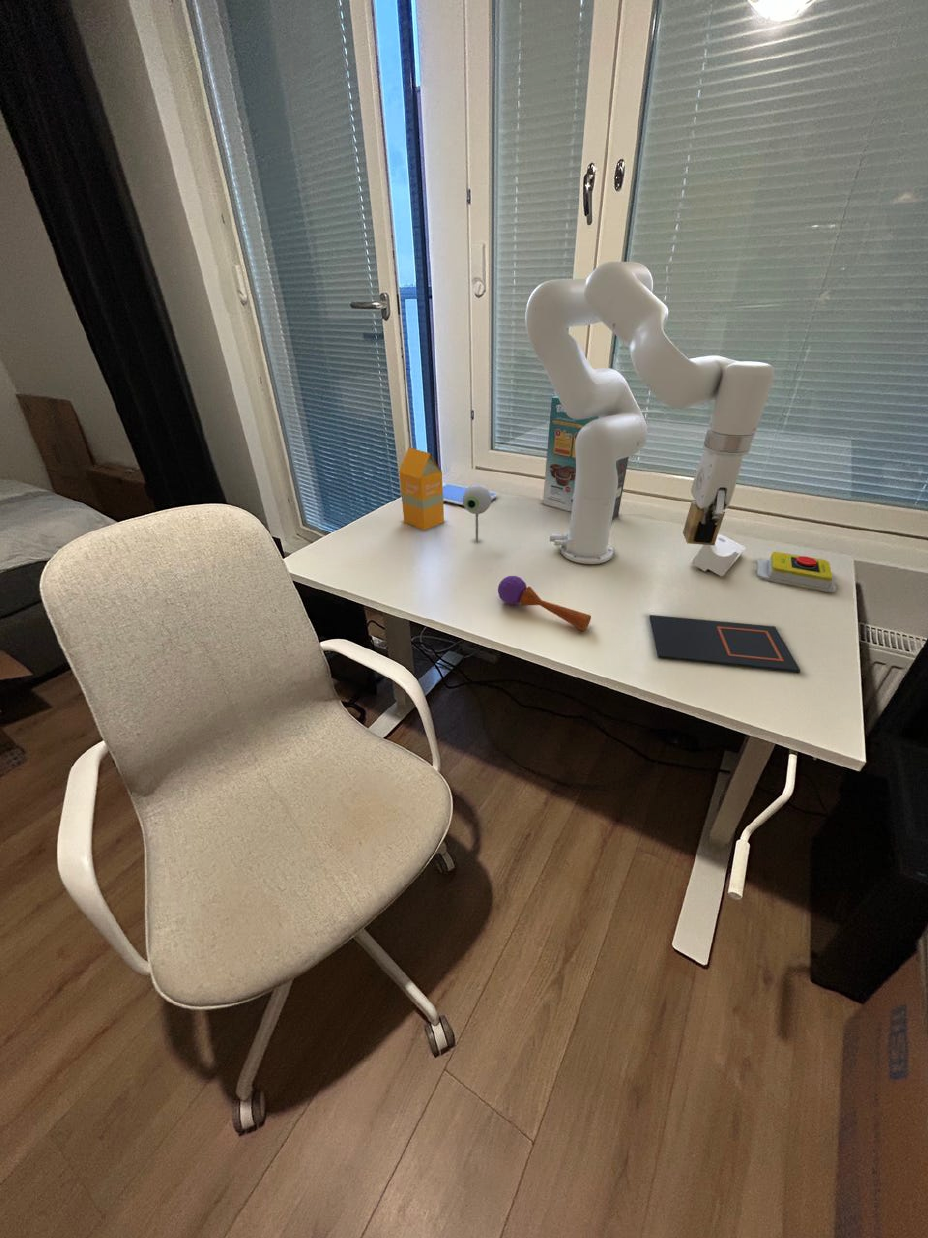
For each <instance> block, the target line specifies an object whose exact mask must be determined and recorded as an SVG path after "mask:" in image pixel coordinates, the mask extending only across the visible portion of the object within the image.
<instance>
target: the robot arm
mask: <svg viewBox="0 0 928 1238" xmlns="http://www.w3.org/2000/svg"><path fill="white" fill-rule="evenodd" d="M653 280H654V279H653V276H652V273H651V271H650V269H648V268H647V266H645V265H644V264H642V263H640V262H633V261H608V262H604V263H602V264H599V265H598V266H597V267H595V268H594V269H593V270H592V271H591V273H589V275H588V277H587V278H555V279H550V280H547V281H544V282H542V283H540V284H539V285H537V286H536V288H535V289H534V290H533V291H532V292H531V294H530V296H529V297H528V301H527V304H526V308H525V316H524V317H525V319H524V321H525V322H524V325H525V331H526V336H527V339H528V341H529V345H530V346H531V348H532V350H533V352H534V354H535V355H536V357H537V359H538V361H539V363H540V364H541V366H542V367H543V369H544V371H545V373H546V375H547V377H548V380H549V382H550V384H551V386H552V388H553V389H554V392H555V395H556V396H558V398H559V400H560V403H561V405H562V407H563V409H564V410H565V412H566V414H567V415H568V416H569V417H570V418H572V419H575V420H581V419H587V418H591V417H595V416H598V417H599V419H596V420H593V421H591V422H589V423H587V424H586V425H585V426H584V427H583V428H582V429H581V430H580V431H579V433H578V435H577V438H576V442H575V454H576V478H575V488H574V497H573V505H572V512H570V514H571V515H570V523H569V529H567V533H564V532H563V533H562V534H558V533H550V534H549V542H553V545H554V546H560V553H561V555H562V556H563V557H564V558H566V559H567V560H569V561H572V562H575V563H578V564H583V565H599V564H603V563H606V562H608V561H609V560H611V559H612V557H613V554H614V549H613V547H612V546H611V545H610V544H609V540H610V535H611V534H610V533H611V528H612V522H613V519H612V517H613V511H614V505H615V499H616V493H617V487H618V474H617V469H616V461H617V460H620V459H622V458H625V457H628V456H629V457H630V456H631V457H632V456H634V455H635V454H637V453H639V452H640V451H641V450H642V449H643V447H644V446H645V445H646V442H647V438H648V425H647V422H646V419H645V417H644V414H643V413H642V410H641V408H640V405H639V403H638V402H637V400H636V398H635V396H634V394H633V392H632V389H631V388H630V385H629V383H628V382H627V380H626V379H625V378H624V377H625V376H623V375H622V374H621V373H620V372H619V371H618V370H615V369H614V368H610V367H601V368H596V369H595V368H593V367H592V365H591V364H590V362H589V360H588V358H587V357H586V355H585V352H584V349H583V348H582V347H581V345H580V343H578V340H576V339H575V338H574V336H572V335H571V334H570V333H569V332H568V330H567V329H566V328H572V327H573V328H574V327H584V326H585V327H586V326H590V325H594V324H595V325H596V324H599V323H603V324H604V325H605V326H606V327H607V328H608V329H609V331H611V332H612V333H613V334H614V335H615V336H616V337H617V338H618V340H619V341H621V342H622V343H623V344H624V345H625V346H626V347H627V349H628V350H629V354H630V359H631V362H632V365H633V369H634V370H635V373H636V375H637V376H638V378H639V380H640V382H641V383H643V384H644V385H645V386H646V388H648V389H649V391H650V392H651V393H653V395H655V397H656V398H657V399H658V400H660V401H661V402H662V403H664V404H665V405H667V406H668V407H671V408H673V409H687V408H691V407H694V406H697V405H702V404H703V405H704V404H707V403H714V405H713V409H712V412H711V416H710V420H709V423H708V427H707V430H706V434H705V438H704V441H703V444H702V449H703V452H702V455H701V457H700V460H699V462H698V466H697V468H696V472H695V475H694V478H693V481H692V484H691V487H690V493H691V496H692V498H693V500H695V502H696V503H697V505H698V506H699V507H700V508H702V509H703V508H704V510H703V515H702V520H701V522H699V523H698V527H697V530H696V533H695V537H694V541H695V542H702V543H711V542H712V539H713V536H714V533H715V530H716V527H717V525H718V522H719V519H720V518H721V517H722V516H723V510H725V511H726V509H728V507H729V506H730V504H731V500H732V498H733V495H734V493H735V488H736V485H737V482H738V479H739V475H740V471H741V467H742V463H743V458H744V456H745V455H748V454H749V453H750V450H751V446H752V444H753V441H754V438H755V435H756V432H757V428H758V426H759V423H760V420H761V417H762V414H763V411H764V408H765V405H766V401H767V399H768V396H769V394H770V389H771V387H772V384H773V382H774V378H775V374H776V373H775V367H774V366H773V365H772V364H769V363H767V362H762V361H761V362H760V361H747V360H745V361H744V360H742V361H739V360H735V359H731V358H728V357H726V356H721V355H714V354H713V355H712V354H711V355H705V356H697V357H693V358H692V357H691V358H689V357H687V356H686V355H685V354H684V353H683V352H682V351H680V349H679V348H677V346H676V345H675V344H673V343H672V341H671V340H670V339H669V338H668V336H667V334H666V333H665V330H664V329H665V326H666V325H667V322H668V319H669V309H668V306H667V305H666V304H665V303H664V302H663V301H661V300H660V298H658V297H657V296H656V295H655V294H654V293H653V290H654V281H653ZM637 403H638V404H637ZM710 504H715V505H714V507H709V505H710ZM708 510H711V511H713V512H712V513H710V514H709V515H708V516H707V514H708Z"/></svg>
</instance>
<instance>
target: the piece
mask: <svg viewBox="0 0 928 1238" xmlns="http://www.w3.org/2000/svg"><path fill="white" fill-rule="evenodd" d="M714 505H715V504H710V505H709V507H714ZM703 510H704V508H703V509H702V508H700V507H699V506H698V505H697V503H696V502H695V500H694V499H691V502H690V505H689V509H688V512H687V516H686V520H685V524H684V528H683V530H682V534H683V536H684V539H685V541H686V544H690V545H702V546H703V545H715V542H716V539H717V536H718V533H719V534H720V529H721V527H722V523H723V521H724V517H725V514H726V509H725V510H723V516H722V517H721V518H720V519H719V522H718V525H717V527H716V530H715V533H714V536H713V539H712V542H711V543H702V542H695V541H694V537H695V533H696V530H697V527H698V523H699V522H701V520H702V515H703ZM712 512H713V511H711V510H708V514H707V516H708V515H709V514H710V513H712Z"/></svg>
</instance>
